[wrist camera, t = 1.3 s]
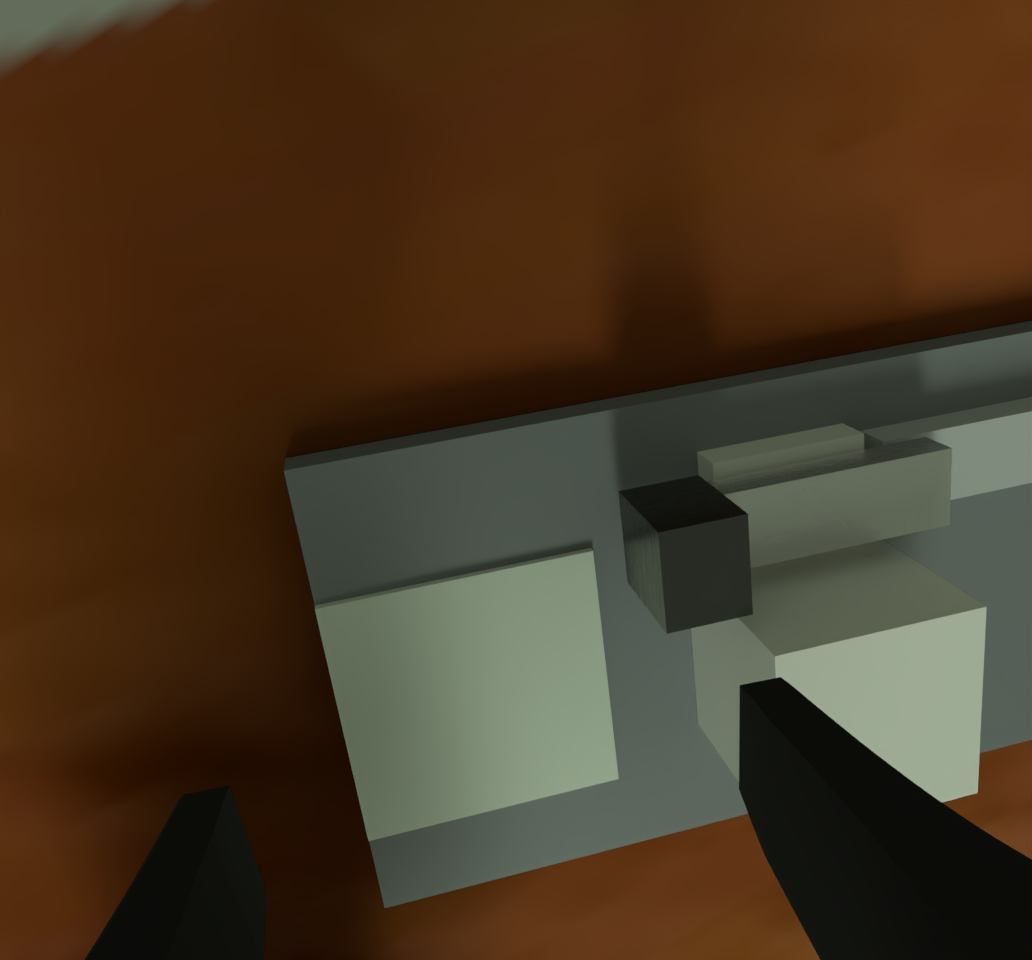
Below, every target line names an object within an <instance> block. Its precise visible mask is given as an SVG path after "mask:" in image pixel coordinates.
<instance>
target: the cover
mask: <svg viewBox="0 0 1032 960" xmlns="http://www.w3.org/2000/svg"><path fill="white" fill-rule="evenodd" d="M859 450H864V433H862V432H860V431H858V430H856V429H854V428H852V427H850V426H847V425H845V424H843V423H842V424H837V425H832V426H826V427H821V428H816V429H811V430H806V431H801V432H796V433H791V434H786V435H781V436H775V437H770V438H765V439H760V440H755V441H750V442H745V443H740V444H735V445H730V446H725V447H719V448H714V449H709V450H704V451H699V452H697V460H698V475H699V476H700V477H702V478H703V479H704V480H705V481H711V480H716V479H721V478H726V477H731V476H736V475H740V474H745V473H750V472H755V471H760V470H765V469H770V468H775V467H780V466H785V465H790V464H795V463H800V462H805V461H810V460H815V459H820V458H825V457H830V456H835V455H840V454H845V453H850V452H854V451H859ZM751 584H752V605H753V615H748V616H744V617H739V618H735V619H731V620H726V621H722V622H717V623H713V624H708V625H704V626H700V627H695V628H691V633H692V646H693V660H694V673H695V686H696V699H697V713H698V724H699V726H700V727H701V729H702V730H703V731H704V733H705V734H706V736H707V737H708V739H709V740H710V742H711V743H712V744H713V746H714V747H715V749H716V750H717V752H718V753H719V754H720V756H721V757H722V759H723V760H724V762H725V763H726V765H727V766H728V767H729V769H730V770H731V772H732V773H733V775H734V776H735V777H736V779H737V780H738V782H739V711H740V685H743V684H748V683H753V682H758V681H763V680H768V679H773V678H778V677H781V678H783V679H784V680H785V681H787V682H788V683H789V684H790V685H792V686H793V687H794V688H795V689H797V690H798V691H799V692H800V693H801V694H803V695H804V696H805V697H806V698H807V699H809V700H810V701H811V702H812V703H813V704H815V705H816V706H817V707H818V708H819V709H821V710H822V711H823V712H824V713H825V714H827V715H828V716H829V717H830V718H832V719H833V720H834V721H835V722H836V723H838V724H839V725H840V726H841V727H843V728H844V729H845V730H846V731H848V732H849V733H850V734H851V735H852V736H854V737H855V738H856V739H857V740H859V741H860V742H861V743H862V744H864V745H865V746H866V747H868V748H869V749H870V750H871V751H873V752H874V753H875V754H877V755H878V756H879V757H881V758H882V759H883V760H884V761H886V762H887V763H888V764H890V765H891V766H892V767H894V768H895V769H896V770H898V771H899V772H900V773H902V774H903V775H904V776H906V777H907V778H908V779H910V780H911V781H912V782H914V783H915V784H916V785H918V786H919V787H921V788H922V789H923V790H925V791H926V792H927V793H929V794H930V795H932V796H933V797H934V798H936V799H937V800H939V801H940V802H945V801H949V800H953V799H957V798H960V797H964V796H968V795H972V794H975V793H978V774H979V754H980V733H981V712H982V692H983V671H984V651H985V630H986V609H987V607H986V606H985V605H983V604H982V603H980V602H979V601H977V600H975V599H974V598H972V597H971V596H969V595H968V594H966V593H965V592H963V591H961V590H960V589H958V588H957V587H955V586H954V585H952V584H951V583H949V582H947V581H946V580H944V579H943V578H941V577H940V576H938V575H937V574H935V573H933V572H932V571H930V570H929V569H927V568H926V567H924V566H923V565H921V564H919V563H918V562H916V561H915V560H913V559H912V558H910V557H909V556H907V555H905V554H904V553H902V552H901V551H899V550H898V549H896V548H895V547H893V546H891V545H890V544H888V543H887V542H885V541H884V540H878V541H874V542H869V543H865V544H860V545H855V546H851V547H846V548H842V549H837V550H833V551H828V552H823V553H819V554H814V555H810V556H805V557H801V558H796V559H791V560H787V561H782V562H778V563H773V564H768V565H764V566H759V567H755V568H751Z"/></svg>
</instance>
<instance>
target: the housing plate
mask: <svg viewBox="0 0 1032 960" xmlns="http://www.w3.org/2000/svg"><path fill="white" fill-rule="evenodd" d="M842 423H843V424H845V425H847V426H850V427H852V428H854V429H856V430H858V431H860V432H862V433H864V449H869V448H874V447H879V446H884V445H889V444H894V443H899V442H904V441H909V440H914V439H919V438H924V437H927V438H930V439H932V440H934V441H937V442H939V443H941V444H944V445H946V446H948V447H951V448H952V466H951V498H950V525H947V526H942V527H938V528H933V529H929V530H924V531H920V532H915V533H910V534H906V535H901V536H897V537H892V538H888V539H883V540H884V541H885V542H887V543H888V544H890V545H891V546H893V547H895V548H896V549H898V550H899V551H901V552H902V553H904V554H905V555H907V556H909V557H910V558H912V559H913V560H915V561H916V562H918V563H919V564H921V565H923V566H924V567H926V568H927V569H929V570H930V571H932V572H933V573H935V574H937V575H938V576H940V577H941V578H943V579H944V580H946V581H947V582H949V583H951V584H952V585H954V586H955V587H957V588H958V589H960V590H961V591H963V592H965V593H966V594H968V595H969V596H971V597H972V598H974V599H975V600H977V601H979V602H980V603H982V604H983V605H985V606H986V607H987V609H986V630H985V651H984V671H983V692H982V712H981V733H980V753H982V752H986V751H990V750H994V749H998V748H1002V747H1005V746H1009V745H1013V744H1017V743H1021V742H1025V741H1028V740H1032V321H1027V322H1022V323H1016V324H1011V325H1005V326H1000V327H995V328H989V329H984V330H978V331H973V332H968V333H962V334H957V335H951V336H946V337H940V338H935V339H930V340H924V341H919V342H913V343H908V344H902V345H897V346H892V347H886V348H881V349H875V350H870V351H864V352H859V353H854V354H848V355H843V356H837V357H832V358H827V359H821V360H816V361H810V362H805V363H799V364H794V365H789V366H783V367H778V368H772V369H767V370H761V371H756V372H751V373H745V374H740V375H734V376H729V377H724V378H718V379H713V380H707V381H702V382H696V383H691V384H686V385H680V386H675V387H669V388H664V389H658V390H653V391H648V392H642V393H637V394H631V395H626V396H621V397H615V398H610V399H604V400H599V401H593V402H588V403H583V404H577V405H572V406H566V407H561V408H555V409H550V410H545V411H539V412H534V413H528V414H523V415H518V416H512V417H507V418H501V419H496V420H490V421H485V422H480V423H474V424H469V425H463V426H458V427H452V428H447V429H442V430H436V431H431V432H425V433H420V434H415V435H409V436H404V437H398V438H393V439H387V440H382V441H377V442H371V443H366V444H360V445H355V446H349V447H344V448H339V449H333V450H328V451H322V452H317V453H312V454H306V455H301V456H295V457H290V458H285V463H284V475H285V479H286V483H287V488H288V492H289V496H290V501H291V505H292V509H293V514H294V518H295V522H296V527H297V531H298V535H299V540H300V544H301V548H302V552H303V557H304V561H305V565H306V570H307V574H308V578H309V583H310V587H311V591H312V596H313V600H314V604H315V612H316V617H317V621H318V625H319V630H320V634H321V638H322V643H323V647H324V651H325V656H326V660H327V664H328V669H329V673H330V677H331V682H332V686H333V690H334V695H335V699H336V703H337V708H338V712H339V716H340V721H341V725H342V729H343V734H344V738H345V742H346V747H347V751H348V755H349V759H350V764H351V768H352V772H353V777H354V781H355V785H356V790H357V794H358V798H359V803H360V807H361V811H362V816H363V820H364V824H365V829H366V833H367V837H368V841H369V843H370V847H371V851H372V856H373V860H374V864H375V869H376V873H377V877H378V882H379V886H380V890H381V895H382V899H383V903H384V908H388V907H392V906H396V905H399V904H403V903H407V902H411V901H415V900H419V899H422V898H426V897H430V896H434V895H438V894H442V893H445V892H449V891H453V890H457V889H461V888H465V887H468V886H472V885H476V884H480V883H484V882H488V881H491V880H495V879H499V878H503V877H507V876H511V875H514V874H518V873H522V872H526V871H530V870H534V869H537V868H541V867H545V866H549V865H553V864H557V863H560V862H564V861H568V860H572V859H576V858H580V857H583V856H587V855H591V854H595V853H599V852H603V851H607V850H610V849H614V848H618V847H622V846H626V845H630V844H633V843H637V842H641V841H645V840H649V839H653V838H656V837H660V836H664V835H668V834H672V833H676V832H679V831H683V830H687V829H691V828H695V827H699V826H702V825H706V824H710V823H714V822H718V821H722V820H725V819H729V818H733V817H737V816H741V815H745V814H748V811H747V809H746V806H745V804H744V801H743V798H742V796H741V793H740V791H739V782H738V780H737V779H736V777H735V776H734V775H733V773H732V772H731V770H730V769H729V767H728V766H727V765H726V763H725V762H724V760H723V759H722V757H721V756H720V754H719V753H718V752H717V750H716V749H715V747H714V746H713V744H712V743H711V742H710V740H709V739H708V737H707V736H706V734H705V733H704V731H703V730H702V729H701V727H700V726H699V724H698V713H697V699H696V686H695V673H694V660H693V646H692V633H691V629H686V630H682V631H678V632H673V633H669V634H666V632H665V631H664V630H663V628H662V627H661V626H660V624H659V623H658V622H657V620H656V619H655V618H654V617H653V615H652V614H651V613H650V611H649V610H648V609H647V607H646V606H645V605H644V603H643V602H642V601H641V600H640V598H639V597H638V596H637V594H636V593H635V592H634V590H633V589H632V588H631V586H630V585H629V584H628V583H627V573H626V563H625V553H624V543H623V533H622V523H621V513H620V503H619V493H618V491H621V490H626V489H631V488H636V487H641V486H646V485H651V484H656V483H661V482H666V481H671V480H676V479H681V478H686V477H691V476H696V475H698V460H697V452H699V451H704V450H709V449H714V448H719V447H725V446H730V445H735V444H740V443H745V442H750V441H755V440H760V439H765V438H770V437H775V436H781V435H786V434H791V433H796V432H801V431H806V430H811V429H816V428H821V427H826V426H832V425H837V424H842Z"/></svg>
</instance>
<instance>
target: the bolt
mask: <svg viewBox="0 0 1032 960" xmlns="http://www.w3.org/2000/svg"><path fill="white" fill-rule="evenodd" d="M951 466H952V448H951V447H948V446H946V445H944V444H941V443H939V442H937V441H934V440H932V439H930V438H927V437H924V438H919V439H914V440H909V441H904V442H899V443H894V444H889V445H884V446H879V447H874V448H869V449H864V450H859V451H854V452H850V453H845V454H840V455H835V456H830V457H825V458H820V459H815V460H810V461H805V462H800V463H795V464H790V465H785V466H780V467H775V468H770V469H765V470H760V471H755V472H750V473H745V474H740V475H736V476H731V477H726V478H721V479H716V480H711V481H705V480H704V479H703V478H702V477H700V476H699V475H696V476H691V477H686V478H681V479H676V480H671V481H666V482H661V483H656V484H651V485H646V486H641V487H636V488H631V489H626V490H621V491H618V493H619V503H620V513H621V523H622V533H623V543H624V553H625V563H626V573H627V583H628V584H629V585H630V586H631V588H632V589H633V590H634V592H635V593H636V594H637V596H638V597H639V598H640V600H641V601H642V602H643V603H644V605H645V606H646V607H647V609H648V610H649V611H650V613H651V614H652V615H653V617H654V618H655V619H656V620H657V622H658V623H659V624H660V626H661V627H662V628H663V630H664V631H665V632H666V634H669V633H673V632H678V631H682V630H686V629H691V628H695V627H700V626H704V625H708V624H713V623H717V622H722V621H726V620H731V619H735V618H739V617H744V616H748V615H753V605H752V584H751V568H755V567H759V566H764V565H768V564H773V563H778V562H782V561H787V560H791V559H796V558H801V557H805V556H810V555H814V554H819V553H823V552H828V551H833V550H837V549H842V548H846V547H851V546H855V545H860V544H865V543H869V542H874V541H878V540H883V539H888V538H892V537H897V536H901V535H906V534H910V533H915V532H920V531H924V530H929V529H933V528H938V527H942V526H947V525H950V498H951Z"/></svg>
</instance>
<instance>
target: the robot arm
mask: <svg viewBox="0 0 1032 960" xmlns="http://www.w3.org/2000/svg"><path fill="white" fill-rule="evenodd" d="M739 791H740V793H741V796H742V798H743V801H744V804H745V806H746V809H747V811H748V814H749V817H750V819H751V822H752V825H753V827H754V830H755V832H756V834H757V837H758V839H759V842H760V844H761V847H762V849H763V852H764V854H765V856H766V858H767V860H768V862H769V864H770V866H771V868H772V870H773V872H774V874H775V876H776V878H777V879H778V881H779V883H780V885H781V887H782V889H783V891H784V893H785V894H786V896H787V898H788V900H789V902H790V904H791V906H792V908H793V910H794V911H795V913H796V915H797V917H798V919H799V921H800V922H801V924H802V926H803V928H804V930H805V932H806V934H807V935H808V937H809V939H810V941H811V943H812V945H813V947H814V948H815V950H816V952H817V954H818V956H819V958H820V960H1032V860H1031V859H1030V858H1028V857H1026V856H1025V855H1023V854H1021V853H1019V852H1018V851H1016V850H1014V849H1013V848H1011V847H1009V846H1008V845H1006V844H1004V843H1003V842H1001V841H999V840H998V839H996V838H994V837H993V836H991V835H990V834H988V833H986V832H985V831H983V830H982V829H980V828H979V827H977V826H976V825H974V824H973V823H971V822H969V821H968V820H966V819H965V818H964V817H962V816H961V815H959V814H958V813H956V812H955V811H953V810H952V809H950V808H949V807H948V806H946V805H945V804H943V803H942V802H940V801H939V800H937V799H936V798H934V797H933V796H932V795H930V794H929V793H927V792H926V791H925V790H923V789H922V788H921V787H919V786H918V785H916V784H915V783H914V782H912V781H911V780H910V779H908V778H907V777H906V776H904V775H903V774H902V773H900V772H899V771H898V770H896V769H895V768H894V767H892V766H891V765H890V764H888V763H887V762H886V761H884V760H883V759H882V758H881V757H879V756H878V755H877V754H875V753H874V752H873V751H871V750H870V749H869V748H868V747H866V746H865V745H864V744H862V743H861V742H860V741H859V740H857V739H856V738H855V737H854V736H852V735H851V734H850V733H849V732H848V731H846V730H845V729H844V728H843V727H841V726H840V725H839V724H838V723H836V722H835V721H834V720H833V719H832V718H830V717H829V716H828V715H827V714H825V713H824V712H823V711H822V710H821V709H819V708H818V707H817V706H816V705H815V704H813V703H812V702H811V701H810V700H809V699H807V698H806V697H805V696H804V695H803V694H801V693H800V692H799V691H798V690H797V689H795V688H794V687H793V686H792V685H790V684H789V683H788V682H787V681H785V680H784V679H783V678H781V677H778V678H773V679H768V680H763V681H758V682H753V683H748V684H743V685H740V711H739ZM264 937H265V886H264V883H263V880H262V877H261V875H260V872H259V869H258V866H257V863H256V860H255V858H254V855H253V852H252V849H251V846H250V843H249V840H248V838H247V835H246V832H245V829H244V826H243V823H242V821H241V818H240V815H239V812H238V809H237V806H236V804H235V801H234V798H233V795H232V792H231V789H230V786H226V787H221V788H215V789H210V790H205V791H200V792H195V793H190V794H185V795H183V797H182V798H181V799H180V800H179V802H178V803H177V805H176V807H175V808H174V810H173V812H172V814H171V815H170V817H169V819H168V821H167V823H166V824H165V826H164V828H163V830H162V832H161V833H160V835H159V837H158V839H157V841H156V842H155V844H154V846H153V848H152V849H151V851H150V853H149V855H148V856H147V858H146V860H145V862H144V863H143V865H142V867H141V869H140V870H139V872H138V874H137V875H136V877H135V879H134V881H133V882H132V884H131V886H130V887H129V889H128V891H127V892H126V894H125V896H124V897H123V899H122V901H121V902H120V904H119V905H118V907H117V909H116V910H115V912H114V914H113V915H112V917H111V919H110V920H109V922H108V923H107V925H106V927H105V928H104V930H103V932H102V933H101V935H100V936H99V938H98V940H97V941H96V943H95V944H94V946H93V947H92V949H91V951H90V952H89V954H88V955H87V957H86V958H85V960H264Z"/></svg>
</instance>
